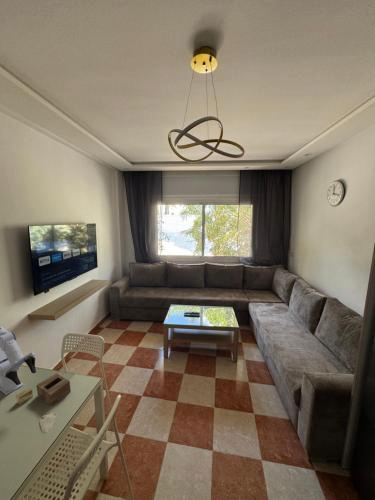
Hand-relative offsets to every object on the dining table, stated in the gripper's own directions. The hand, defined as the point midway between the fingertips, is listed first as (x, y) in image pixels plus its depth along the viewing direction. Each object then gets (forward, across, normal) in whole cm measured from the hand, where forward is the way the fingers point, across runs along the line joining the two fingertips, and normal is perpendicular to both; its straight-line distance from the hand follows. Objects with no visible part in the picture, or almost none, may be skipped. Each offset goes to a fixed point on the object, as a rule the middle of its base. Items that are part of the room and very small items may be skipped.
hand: (26, 378), depth 108 cm
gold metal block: (+6, -9, +9) cm, 14 cm away
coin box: (+12, +2, +12) cm, 17 cm away
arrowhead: (+23, 0, -2) cm, 24 cm away
